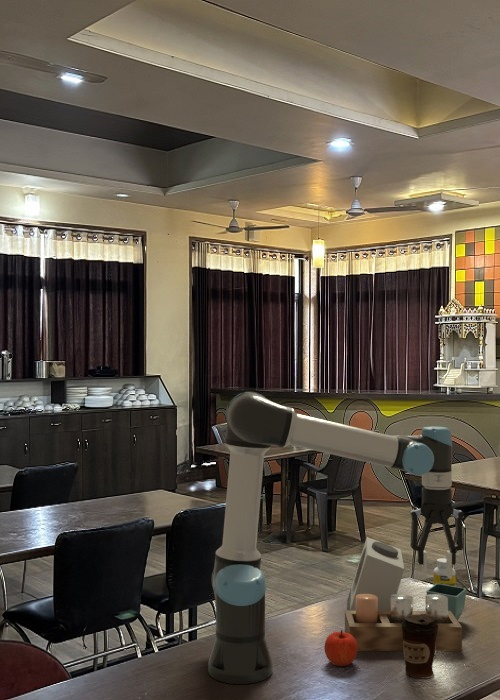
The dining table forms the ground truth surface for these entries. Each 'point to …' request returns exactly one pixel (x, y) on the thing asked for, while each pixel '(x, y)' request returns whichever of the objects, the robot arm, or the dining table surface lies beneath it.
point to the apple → (341, 648)
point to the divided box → (398, 633)
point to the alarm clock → (377, 574)
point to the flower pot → (451, 597)
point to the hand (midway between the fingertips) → (436, 576)
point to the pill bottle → (443, 574)
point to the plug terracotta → (366, 608)
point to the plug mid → (401, 607)
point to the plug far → (437, 608)
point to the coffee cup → (419, 644)
